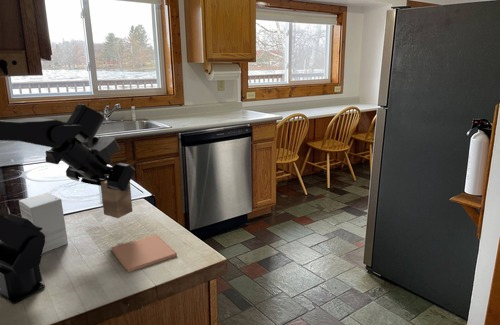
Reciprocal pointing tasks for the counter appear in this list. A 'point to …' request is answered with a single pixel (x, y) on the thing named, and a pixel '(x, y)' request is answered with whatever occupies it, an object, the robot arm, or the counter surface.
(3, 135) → the robot arm
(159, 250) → the terracotta mat
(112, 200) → the walnut block
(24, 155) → the counter surface
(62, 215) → the supplement box
